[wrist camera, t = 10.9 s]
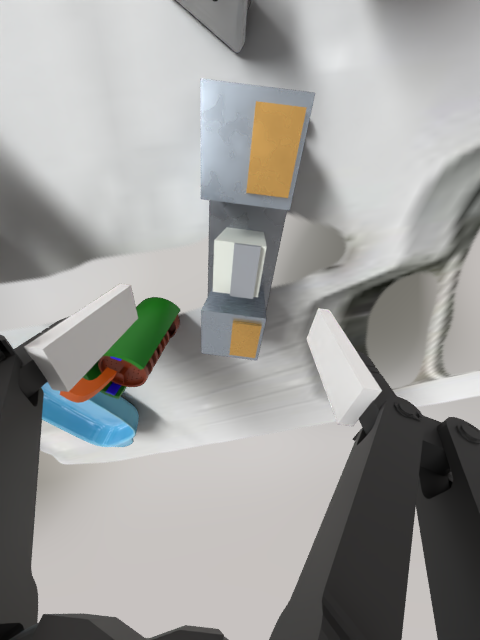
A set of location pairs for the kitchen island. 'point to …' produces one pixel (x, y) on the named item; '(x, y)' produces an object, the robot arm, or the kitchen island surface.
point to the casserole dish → (92, 418)
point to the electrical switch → (222, 18)
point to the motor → (130, 353)
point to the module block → (238, 262)
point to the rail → (247, 193)
